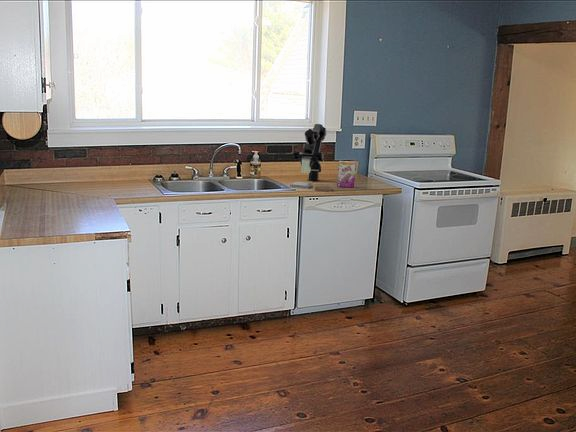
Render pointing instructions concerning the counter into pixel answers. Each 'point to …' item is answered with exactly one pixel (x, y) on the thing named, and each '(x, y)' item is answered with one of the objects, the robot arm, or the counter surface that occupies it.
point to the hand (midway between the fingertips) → (305, 166)
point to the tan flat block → (321, 187)
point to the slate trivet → (302, 184)
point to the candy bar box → (346, 174)
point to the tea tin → (305, 165)
